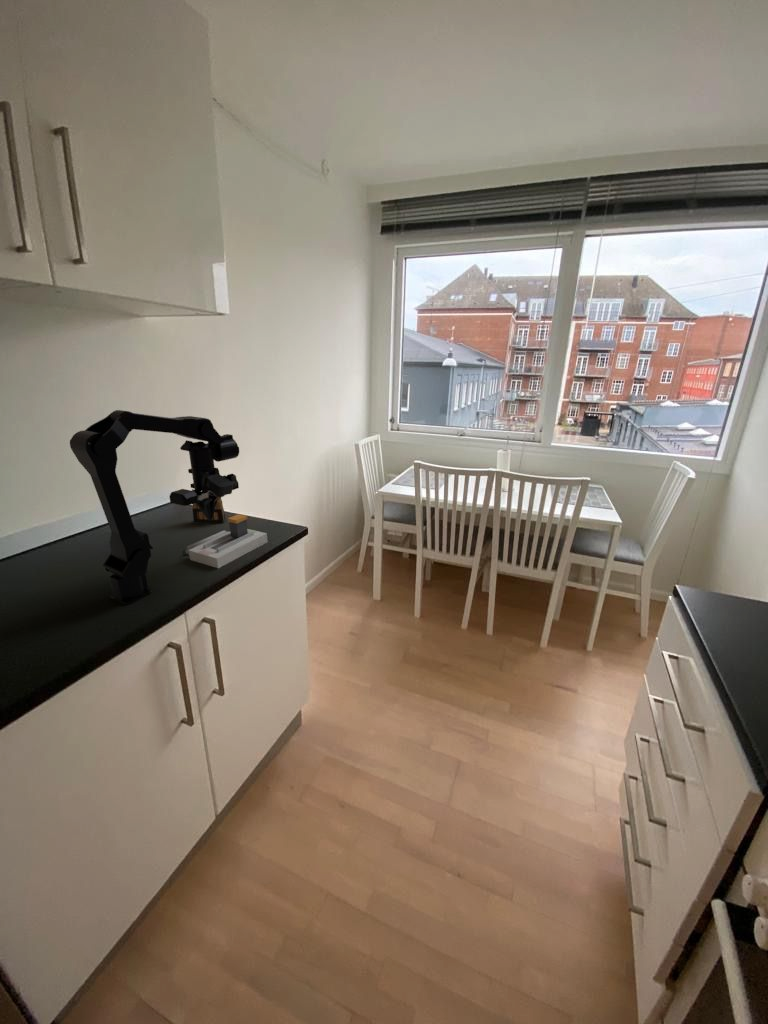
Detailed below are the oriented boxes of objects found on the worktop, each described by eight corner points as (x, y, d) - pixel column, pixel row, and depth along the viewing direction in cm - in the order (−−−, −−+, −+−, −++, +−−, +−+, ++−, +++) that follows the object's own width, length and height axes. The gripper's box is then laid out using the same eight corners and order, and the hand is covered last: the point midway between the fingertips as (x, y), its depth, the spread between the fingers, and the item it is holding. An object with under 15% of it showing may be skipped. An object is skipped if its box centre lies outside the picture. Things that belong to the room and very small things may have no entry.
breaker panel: (218, 568, 115) (216, 555, 114) (190, 559, 120) (188, 547, 118) (267, 542, 132) (266, 530, 131) (241, 535, 136) (239, 524, 135)
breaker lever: (238, 539, 125) (236, 520, 123) (229, 536, 127) (227, 518, 125) (248, 534, 129) (246, 515, 127) (240, 531, 131) (238, 513, 128)
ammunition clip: (193, 522, 147) (188, 489, 143) (196, 520, 148) (191, 488, 144) (223, 523, 146) (219, 490, 142) (225, 521, 148) (221, 488, 144)
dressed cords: (189, 555, 122) (188, 550, 122) (181, 552, 124) (180, 548, 123) (231, 535, 136) (231, 531, 136) (224, 533, 138) (224, 529, 137)
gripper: (195, 477, 100) (203, 536, 105) (250, 461, 116) (255, 514, 121) (163, 471, 105) (173, 528, 110) (221, 457, 120) (227, 508, 126)
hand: (210, 519), depth 117 cm, fingers closed
